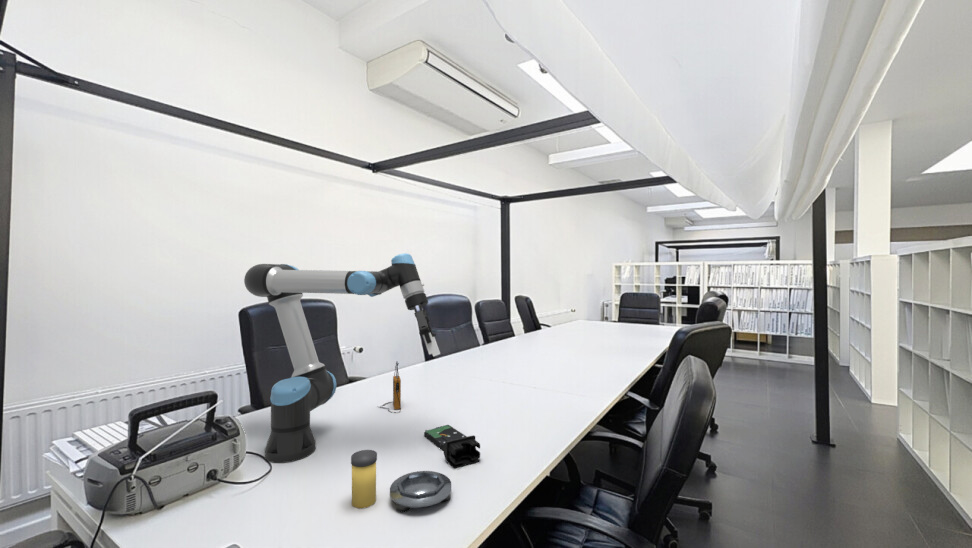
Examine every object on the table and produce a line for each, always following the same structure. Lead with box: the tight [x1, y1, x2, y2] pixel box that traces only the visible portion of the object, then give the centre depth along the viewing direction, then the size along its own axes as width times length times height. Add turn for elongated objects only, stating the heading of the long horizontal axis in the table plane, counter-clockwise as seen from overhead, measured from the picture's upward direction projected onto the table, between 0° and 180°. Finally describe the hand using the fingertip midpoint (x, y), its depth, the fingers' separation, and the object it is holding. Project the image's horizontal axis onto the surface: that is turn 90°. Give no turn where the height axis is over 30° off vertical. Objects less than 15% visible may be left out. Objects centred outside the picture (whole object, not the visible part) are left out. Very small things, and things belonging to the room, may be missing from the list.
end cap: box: [442, 434, 481, 470], centre depth 124 cm, size 10×7×7 cm
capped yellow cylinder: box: [350, 449, 378, 509], centre depth 102 cm, size 6×6×12 cm
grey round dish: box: [389, 470, 452, 513], centre depth 104 cm, size 16×16×4 cm
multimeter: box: [376, 361, 402, 414], centre depth 173 cm, size 15×10×20 cm
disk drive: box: [423, 424, 468, 452], centre depth 140 cm, size 10×3×15 cm
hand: (435, 354), depth 132 cm, fingers open, 13 cm apart
